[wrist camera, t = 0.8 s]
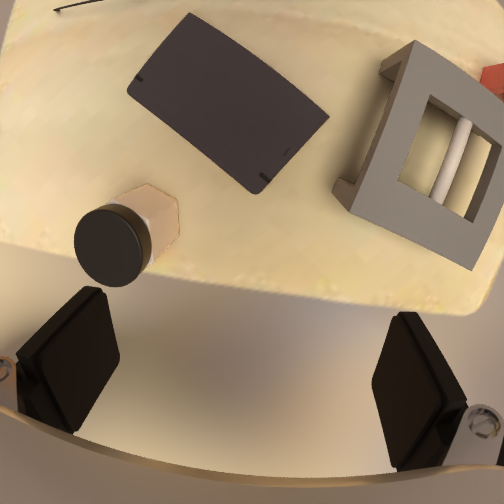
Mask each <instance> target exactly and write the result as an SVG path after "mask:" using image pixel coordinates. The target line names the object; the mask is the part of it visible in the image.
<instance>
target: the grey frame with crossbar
mask: <svg viewBox="0 0 504 504" xmlns="http://www.w3.org/2000/svg"><path fill="white" fill-rule="evenodd" d="M379 74H380V75H382V76H384V77H386V78H387V79H389V80H391V81H393V82H395V83H394V85H393V88H392V91H391V94H390V97H389V99H388V102H387V105H386V107H385V110H384V113H383V115H382V118H381V121H380V123H379V126H378V128H377V131H376V134H375V136H374V139H373V141H372V144H371V146H370V149H369V151H368V154H367V156H366V159H365V161H364V164H363V166H362V168H361V171H360V173H359V176H358V178H357V180H356V183H355V185H354V184H352V183H350V182H348V181H345V180H343V179H341V178H339V177H338V179H337V181H336V183H335V186H334V188H333V190H332V194H333V195H334V196H335V197H336V198H337V199H338V200H339V202H340V203H341V204H342V205H343V206H344V207H345V208H346V210H347V211H348V212H349V213H351V214H353V215H356V216H358V217H360V218H362V219H365V220H367V221H369V222H372V223H374V224H376V225H378V226H380V227H383V228H385V229H387V230H389V231H391V232H393V233H396V234H398V235H400V236H402V237H404V238H406V239H408V240H410V241H413V242H415V243H417V244H419V245H421V246H423V247H425V248H427V249H429V250H431V251H433V252H435V253H437V254H439V255H441V256H443V257H445V258H447V259H449V260H451V261H453V262H455V263H457V264H459V265H460V266H462V267H464V268H466V269H468V270H470V271H472V270H473V268H474V266H475V264H476V262H477V260H478V258H479V256H480V254H481V252H482V250H483V248H484V246H485V244H486V242H487V240H488V238H489V236H490V233H491V231H492V229H493V227H494V225H495V222H496V220H497V218H498V215H499V213H500V210H501V208H502V206H503V203H504V102H502V101H501V100H500V99H499V98H498V97H497V96H495V95H494V94H493V93H492V92H491V91H489V90H488V89H487V88H486V87H484V86H483V85H482V84H481V83H479V82H478V81H477V80H475V79H474V78H473V77H471V76H470V75H469V74H467V73H466V72H465V71H463V70H462V69H460V68H459V67H457V66H456V65H455V64H453V63H452V62H450V61H449V60H447V59H446V58H444V57H443V56H441V55H440V54H438V53H436V52H435V51H433V50H432V49H430V48H428V47H427V46H425V45H423V44H422V43H420V42H418V41H417V40H414V41H412V42H411V43H409V44H407V45H406V46H404V47H403V48H401V49H400V50H398V51H397V52H395V53H394V54H392V55H391V56H389V57H388V58H386V59H385V60H383V62H382V65H381V68H380V71H379ZM427 102H430V103H431V104H433V105H435V106H436V107H438V108H439V109H441V110H442V111H444V112H445V113H447V114H449V115H450V116H451V117H453V118H454V119H456V120H457V124H456V127H455V130H454V133H453V136H452V139H451V141H450V144H449V147H448V150H447V152H446V155H445V158H444V160H443V163H442V165H441V168H440V171H439V173H438V176H437V178H436V180H435V183H434V185H433V188H432V190H431V192H430V195H429V197H427V196H425V195H424V194H422V193H420V192H418V191H416V190H414V189H412V188H411V187H409V186H407V185H405V184H403V183H401V182H399V181H397V180H398V178H399V176H400V173H401V171H402V168H403V166H404V163H405V161H406V158H407V156H408V153H409V151H410V148H411V146H412V143H413V140H414V138H415V135H416V133H417V130H418V127H419V124H420V122H421V119H422V116H423V113H424V110H425V107H426V105H427ZM470 131H473V132H474V133H476V134H477V135H478V136H481V137H483V138H484V139H485V140H486V141H488V142H489V143H490V144H492V146H491V149H490V152H489V155H488V158H487V161H486V164H485V166H484V169H483V172H482V175H481V177H480V180H479V182H478V185H477V187H476V190H475V192H474V195H473V197H472V200H471V202H470V204H469V207H468V209H467V211H466V214H465V216H464V218H463V217H461V216H460V215H458V214H456V213H455V212H453V211H451V210H450V209H448V208H446V207H445V206H443V205H442V204H443V202H444V200H445V197H446V195H447V193H448V190H449V188H450V185H451V183H452V180H453V178H454V175H455V173H456V170H457V168H458V165H459V163H460V160H461V157H462V154H463V152H464V149H465V146H466V143H467V140H468V137H469V134H470Z"/></svg>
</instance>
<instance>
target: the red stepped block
mask: <svg viewBox="0 0 504 504" xmlns="http://www.w3.org/2000/svg"><path fill="white" fill-rule="evenodd" d="M480 83H481V84H482V85H483V86H484V87H486V88H487V89H488V90H489V91H491V92H492V93H493V94H500V93H504V63H502V64H497V65H493V66H488V67H484V68H483V72H482V76H481V80H480Z"/></svg>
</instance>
